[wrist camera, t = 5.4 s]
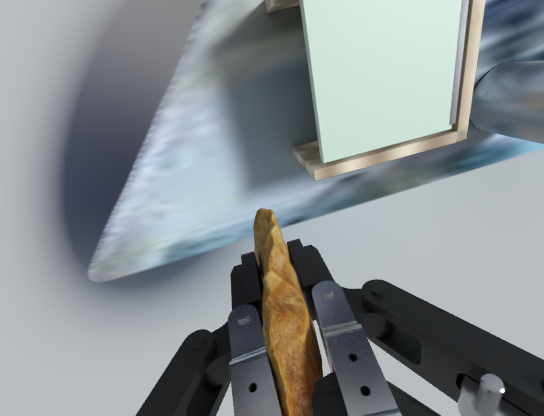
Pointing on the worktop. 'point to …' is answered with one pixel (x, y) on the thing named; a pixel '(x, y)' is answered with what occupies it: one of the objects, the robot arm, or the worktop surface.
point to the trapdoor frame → (319, 170)
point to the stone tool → (286, 320)
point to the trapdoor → (382, 70)
